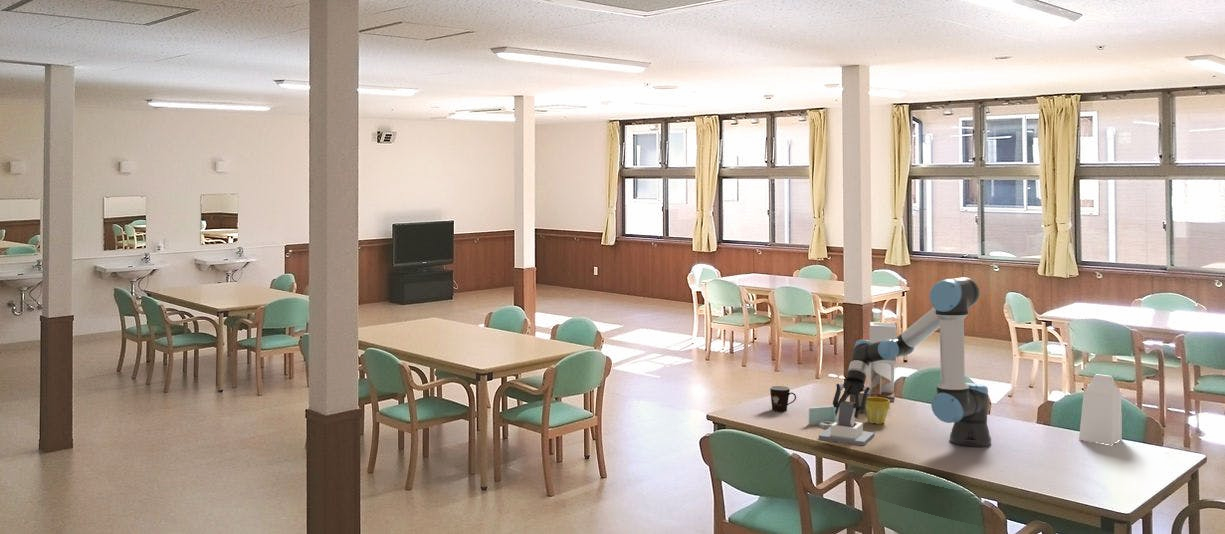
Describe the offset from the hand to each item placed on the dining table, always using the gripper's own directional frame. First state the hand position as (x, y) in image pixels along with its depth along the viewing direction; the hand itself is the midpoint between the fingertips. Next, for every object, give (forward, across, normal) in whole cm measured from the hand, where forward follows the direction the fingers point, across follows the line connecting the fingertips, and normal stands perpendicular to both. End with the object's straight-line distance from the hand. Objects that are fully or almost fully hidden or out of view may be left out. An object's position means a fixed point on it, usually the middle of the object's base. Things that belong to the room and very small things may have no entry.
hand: (844, 423), depth 373 cm
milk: (-30, -87, -40) cm, 101 cm away
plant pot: (-19, -4, -29) cm, 35 cm away
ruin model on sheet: (-32, +7, -42) cm, 53 cm away
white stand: (-50, +5, -60) cm, 79 cm away
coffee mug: (-18, +37, -28) cm, 50 cm away
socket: (+2, 0, -7) cm, 8 cm away
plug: (0, 0, -5) cm, 5 cm away
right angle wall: (-7, +11, -17) cm, 21 cm away
